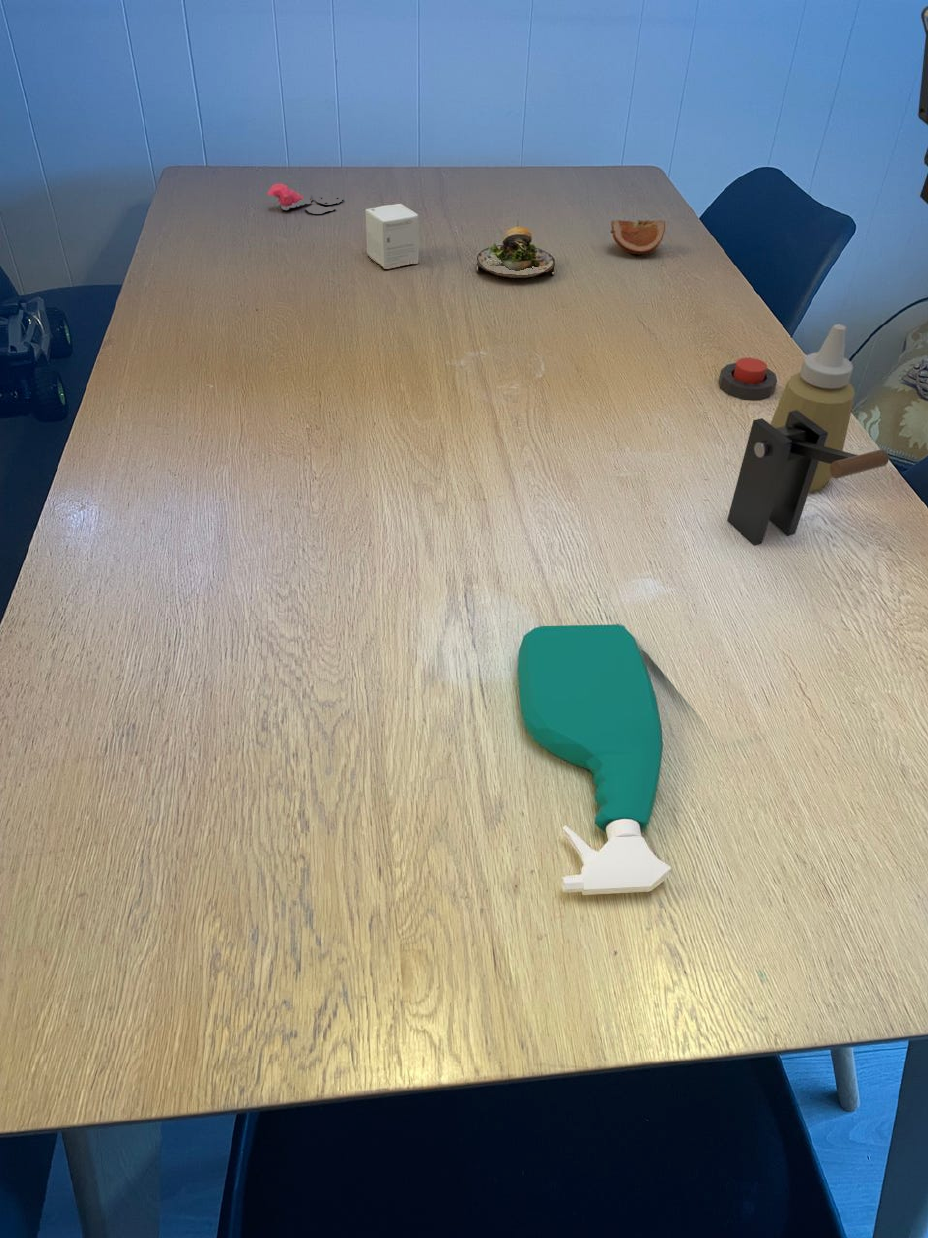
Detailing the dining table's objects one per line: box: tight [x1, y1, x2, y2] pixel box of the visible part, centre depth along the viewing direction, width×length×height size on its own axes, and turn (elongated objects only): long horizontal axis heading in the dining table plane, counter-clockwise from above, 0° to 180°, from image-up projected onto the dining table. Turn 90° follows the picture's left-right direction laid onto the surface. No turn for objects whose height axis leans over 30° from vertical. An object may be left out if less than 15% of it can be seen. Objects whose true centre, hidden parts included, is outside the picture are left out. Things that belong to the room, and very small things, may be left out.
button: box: [733, 357, 768, 384], centre depth 112 cm, size 4×4×2 cm
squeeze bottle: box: [769, 323, 856, 493], centre depth 94 cm, size 8×8×18 cm
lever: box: [776, 426, 889, 479], centre depth 82 cm, size 11×5×2 cm, turn 24°
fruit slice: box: [610, 219, 666, 256], centre depth 146 cm, size 8×7×5 cm
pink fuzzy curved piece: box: [266, 182, 304, 207], centre depth 159 cm, size 12×11×4 cm
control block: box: [718, 362, 778, 402], centre depth 112 cm, size 10×7×3 cm
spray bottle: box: [517, 624, 672, 896], centre depth 71 cm, size 3×11×24 cm
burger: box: [476, 213, 556, 279], centre depth 139 cm, size 12×12×8 cm
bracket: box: [726, 410, 828, 547], centre depth 89 cm, size 9×7×13 cm
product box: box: [365, 203, 420, 266], centre depth 141 cm, size 6×6×7 cm
